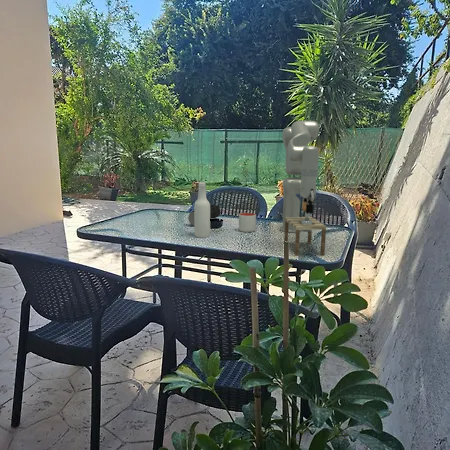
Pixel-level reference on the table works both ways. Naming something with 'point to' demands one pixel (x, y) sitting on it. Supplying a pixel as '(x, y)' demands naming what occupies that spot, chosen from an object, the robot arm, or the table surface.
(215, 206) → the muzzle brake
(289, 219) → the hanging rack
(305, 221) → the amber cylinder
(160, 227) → the table surface
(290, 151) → the robot arm
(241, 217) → the cup
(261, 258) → the table surface
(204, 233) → the alcohol
